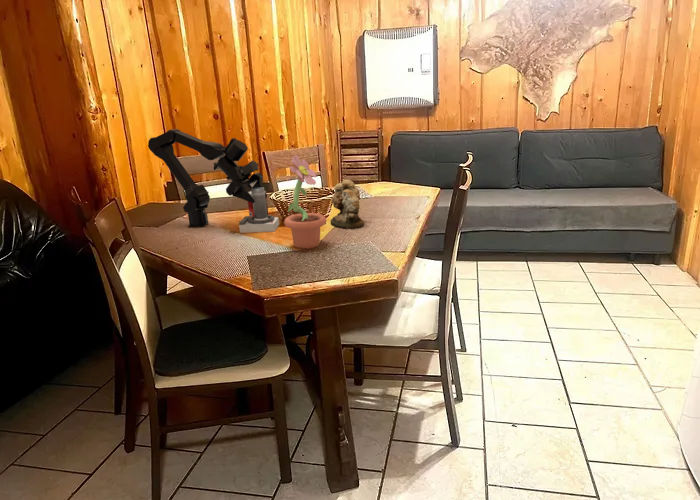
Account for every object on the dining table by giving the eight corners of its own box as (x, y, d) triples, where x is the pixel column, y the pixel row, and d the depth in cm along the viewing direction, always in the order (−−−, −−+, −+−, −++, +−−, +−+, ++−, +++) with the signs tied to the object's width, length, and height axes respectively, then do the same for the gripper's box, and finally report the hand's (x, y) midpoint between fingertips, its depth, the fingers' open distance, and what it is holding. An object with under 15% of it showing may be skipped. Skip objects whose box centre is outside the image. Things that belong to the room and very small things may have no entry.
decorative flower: (316, 254, 157) (309, 158, 148) (277, 251, 162) (268, 158, 153) (334, 240, 170) (328, 152, 161) (297, 238, 175) (290, 152, 166)
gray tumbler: (256, 223, 187) (252, 190, 183) (253, 220, 191) (249, 188, 188) (269, 221, 189) (266, 188, 185) (265, 218, 193) (262, 186, 190)
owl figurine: (323, 221, 198) (320, 178, 193) (349, 217, 202) (347, 175, 197) (342, 231, 182) (340, 184, 177) (371, 226, 187) (369, 181, 182)
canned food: (265, 220, 203) (262, 193, 200) (246, 220, 205) (243, 194, 201) (271, 216, 210) (269, 190, 207) (253, 216, 212) (250, 190, 209)
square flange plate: (240, 232, 187) (238, 221, 185) (246, 225, 196) (245, 215, 195) (274, 231, 186) (273, 220, 185) (279, 224, 195) (278, 214, 194)
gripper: (229, 158, 176) (259, 189, 175) (256, 151, 193) (284, 180, 192) (213, 179, 181) (242, 210, 181) (240, 171, 198) (268, 200, 197)
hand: (260, 199), depth 187 cm, fingers open, 9 cm apart
